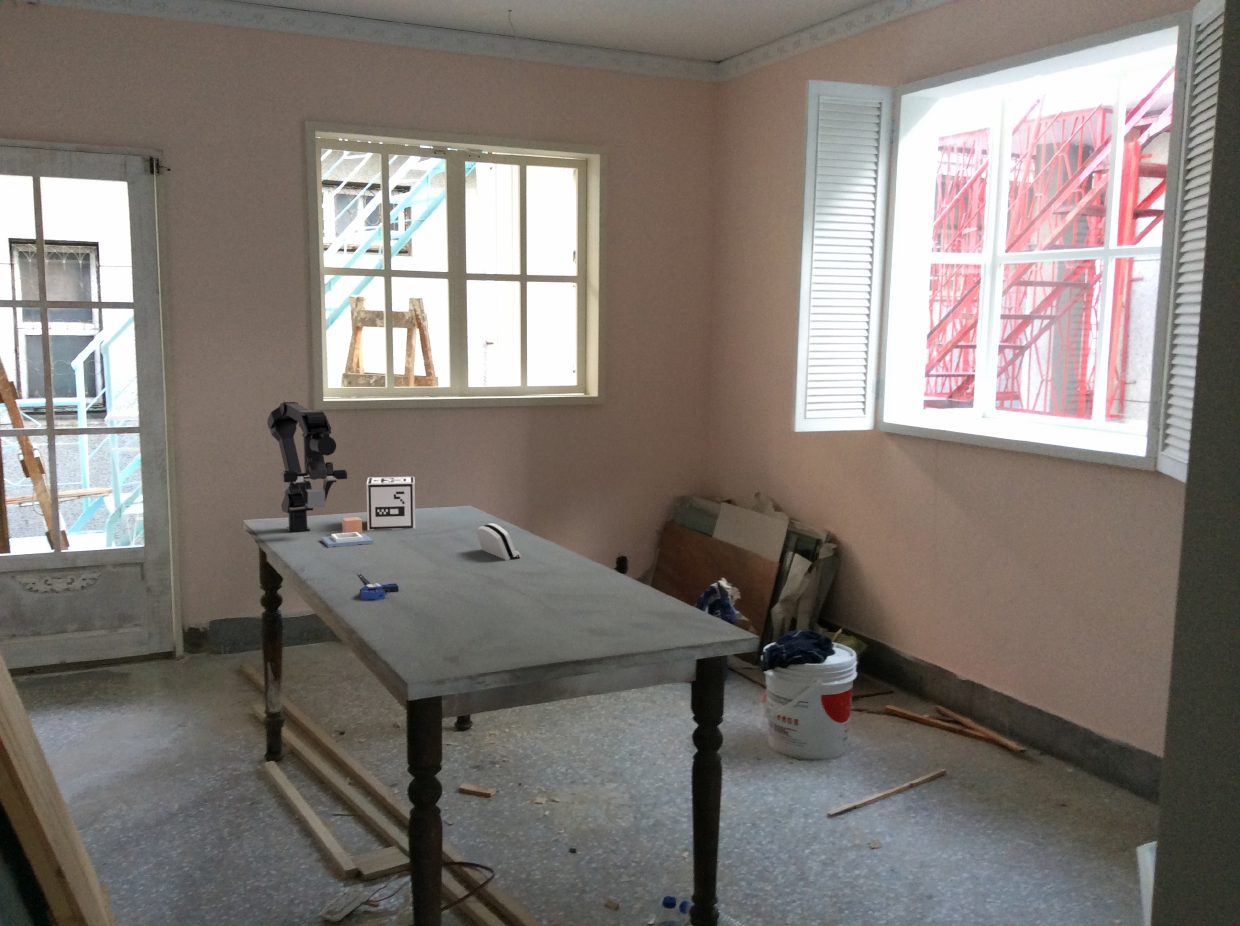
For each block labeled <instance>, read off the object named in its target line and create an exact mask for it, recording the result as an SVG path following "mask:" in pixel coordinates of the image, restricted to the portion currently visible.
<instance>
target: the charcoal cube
mask: <svg viewBox="0 0 1240 926" xmlns="http://www.w3.org/2000/svg"><path fill="white" fill-rule="evenodd" d="M306 494H307V504H306V503H305V504H306V507H308V508H313V509H319V508H326V502H325V491H324V490H323V488H314V489H313V488H312V489H310V490H306Z"/></svg>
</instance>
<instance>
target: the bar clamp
mask: <svg viewBox="0 0 1240 926" xmlns="http://www.w3.org/2000/svg"><path fill="white" fill-rule="evenodd" d="M356 575H357V576H358V577H359V579H361V580H362V582H364V584H365V586H362V587H361V588H359V598H360V599H361V600H367V599H375V600H374V601H379V600H378V599H381V600H385V599H386V593H388V592H389V593H390V592H399V585H398V584H397V583H395V582H394V583H386V584H381V583H379V582H374V583H373V582H372V583H371V582H370V581H369V580H368V579H367V578H365V576H363V574H361V573H360V574H358V573H356ZM360 576H362V577H360ZM384 598H385V599H384ZM376 599H377V600H376Z"/></svg>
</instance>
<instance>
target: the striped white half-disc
mask: <svg viewBox="0 0 1240 926" xmlns="http://www.w3.org/2000/svg"><path fill="white" fill-rule="evenodd" d="M475 532H476V535H477V539H478V542H479V545H480V550H482V551H484V552H486V553H488V554H490V553H491V555H493V554H494V555H493V556H495V555H496V556H495V557H497V556H498V557H497V558H499V557H500V559H502V558H503V559H502V560H504V559H505V560H504V561H509V560H511V558H512V557H513V558H515V557H516V556H518V557H522V554H521V552H520V551H517V550H516V548H515V546H514V544H513V541H512V539H511V536H510V534H509V533H508V531H507V530H505V529H504V528H502V526H500V525H499V524H496V523H493V522H492V523H491V522H490V523H487V524H484V525H481V526H479V527H478V528H477V529H476V530H475ZM518 557H517V558H518Z"/></svg>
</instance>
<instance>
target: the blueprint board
mask: <svg viewBox="0 0 1240 926" xmlns="http://www.w3.org/2000/svg"><path fill="white" fill-rule="evenodd" d="M321 542H323V544H325V545H326V546H327V548H334V547H333V546H339V547H347V545H350V546H359V545H358V544H362V545H370V544H369V543H373V544H374V540H373V539H372V538H371V537H370V536H368V535H367V534H366V533H362V534H359V533H358V532H351V533H343V532H341V533H332V534H330V535H329V536H321Z"/></svg>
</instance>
